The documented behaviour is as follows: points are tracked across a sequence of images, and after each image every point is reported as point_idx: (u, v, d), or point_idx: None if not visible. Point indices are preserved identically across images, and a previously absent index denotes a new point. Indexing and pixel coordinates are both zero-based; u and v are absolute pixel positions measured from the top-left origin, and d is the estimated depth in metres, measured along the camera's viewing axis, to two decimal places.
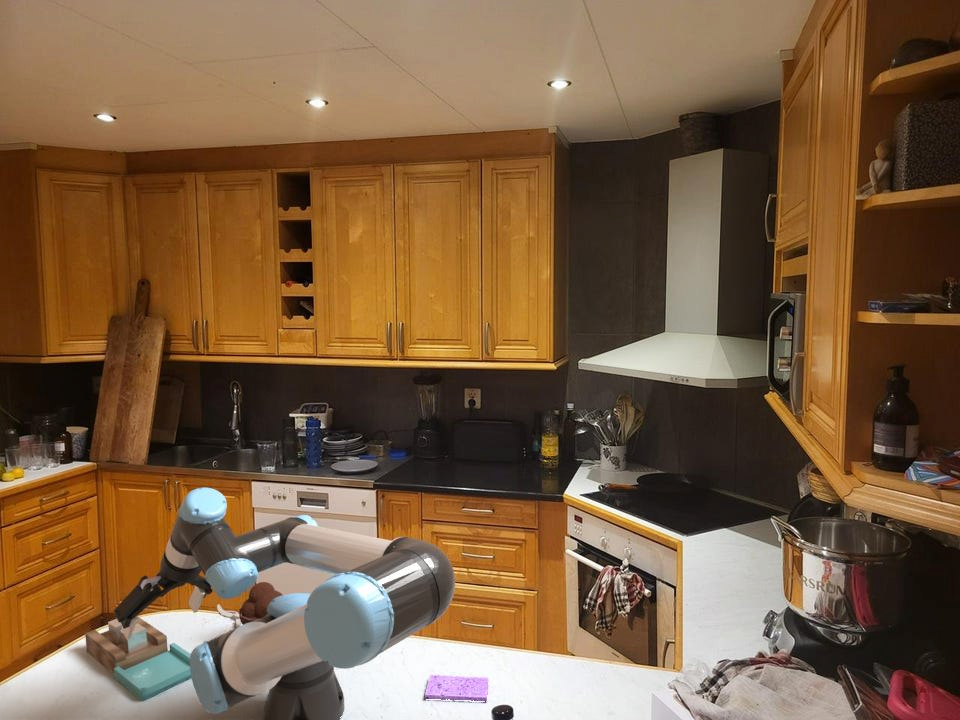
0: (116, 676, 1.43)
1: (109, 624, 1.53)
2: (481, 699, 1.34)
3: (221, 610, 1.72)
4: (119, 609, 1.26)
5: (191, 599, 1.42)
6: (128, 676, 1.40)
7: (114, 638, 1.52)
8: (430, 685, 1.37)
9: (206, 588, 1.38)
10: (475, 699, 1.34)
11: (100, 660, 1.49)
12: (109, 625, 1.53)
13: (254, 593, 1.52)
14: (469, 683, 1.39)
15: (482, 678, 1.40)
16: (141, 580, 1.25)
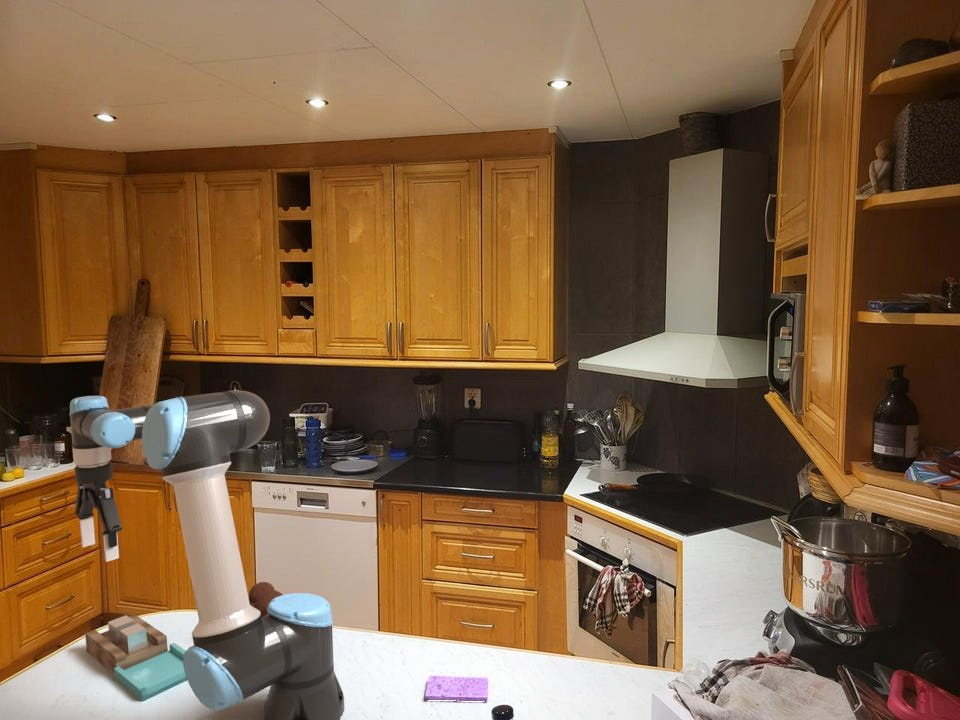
0: (116, 676, 1.43)
1: (109, 624, 1.53)
2: (481, 699, 1.34)
3: None
4: None
5: None
6: (128, 676, 1.40)
7: (114, 638, 1.52)
8: (430, 686, 1.37)
9: (104, 527, 1.51)
10: (475, 699, 1.34)
11: (100, 660, 1.49)
12: (109, 625, 1.53)
13: (254, 593, 1.52)
14: (468, 683, 1.38)
15: (482, 678, 1.40)
16: None
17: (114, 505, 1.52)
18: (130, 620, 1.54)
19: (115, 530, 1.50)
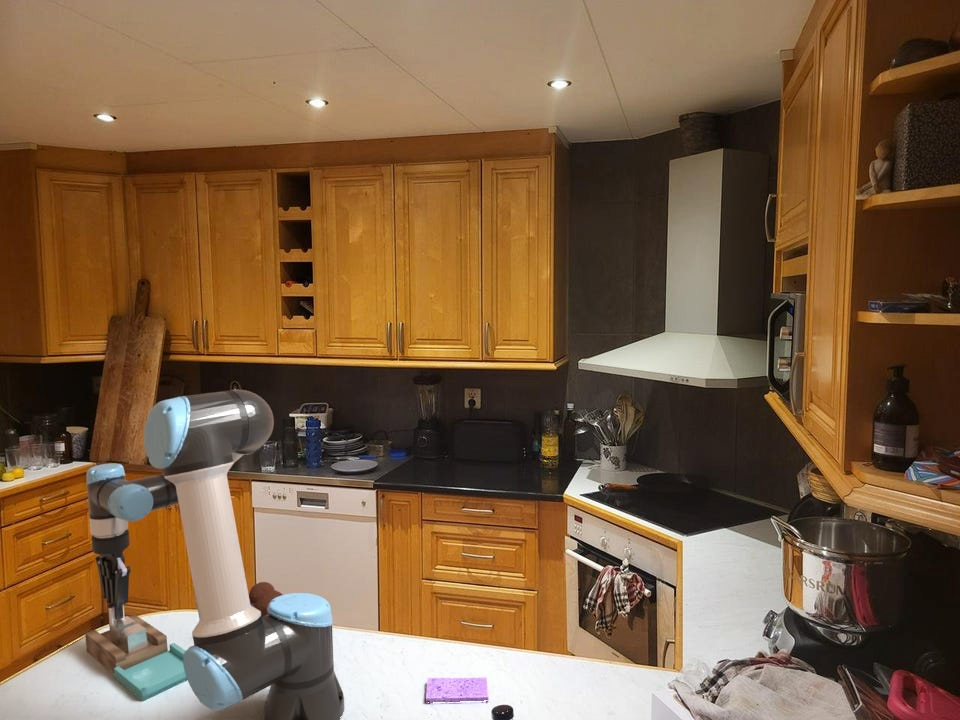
0: (116, 676, 1.43)
1: (110, 625, 1.53)
2: (483, 699, 1.34)
3: None
4: None
5: None
6: (128, 676, 1.40)
7: (115, 639, 1.52)
8: (429, 689, 1.36)
9: (112, 600, 1.53)
10: (477, 699, 1.34)
11: (100, 660, 1.49)
12: (110, 626, 1.53)
13: (254, 593, 1.52)
14: (468, 684, 1.38)
15: (480, 678, 1.40)
16: None
17: (127, 582, 1.51)
18: (131, 621, 1.54)
19: (121, 604, 1.52)
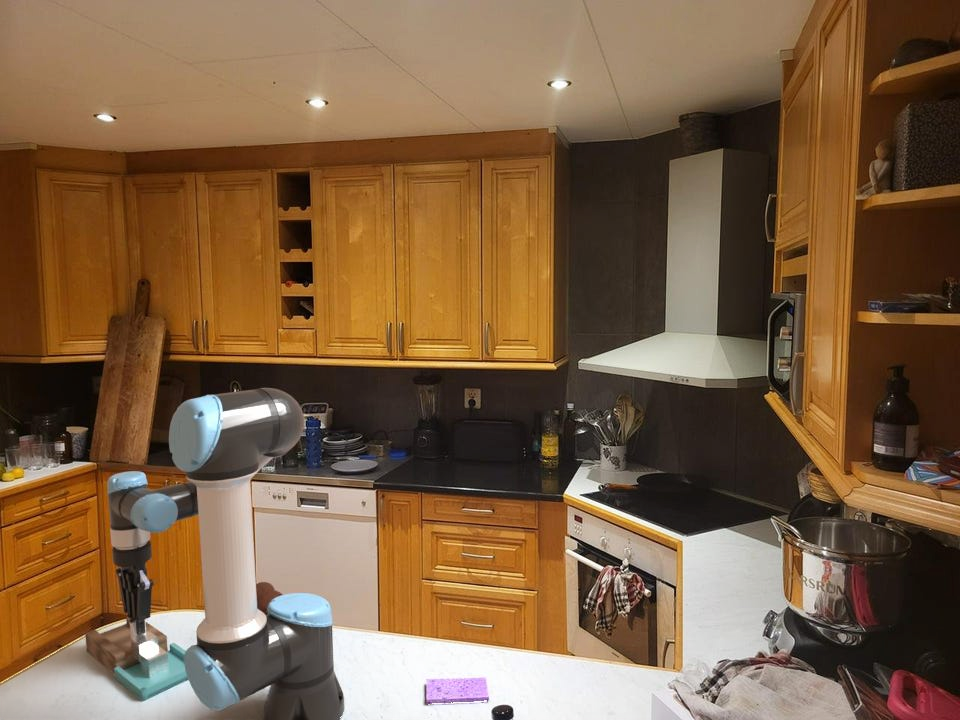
0: (116, 676, 1.43)
1: (132, 641, 1.46)
2: (483, 699, 1.34)
3: None
4: None
5: None
6: (128, 676, 1.40)
7: (137, 656, 1.45)
8: (429, 690, 1.36)
9: (134, 615, 1.46)
10: (477, 699, 1.34)
11: (100, 660, 1.49)
12: (132, 642, 1.46)
13: None
14: (467, 684, 1.38)
15: (480, 678, 1.40)
16: None
17: (149, 595, 1.45)
18: (154, 637, 1.47)
19: (143, 619, 1.45)
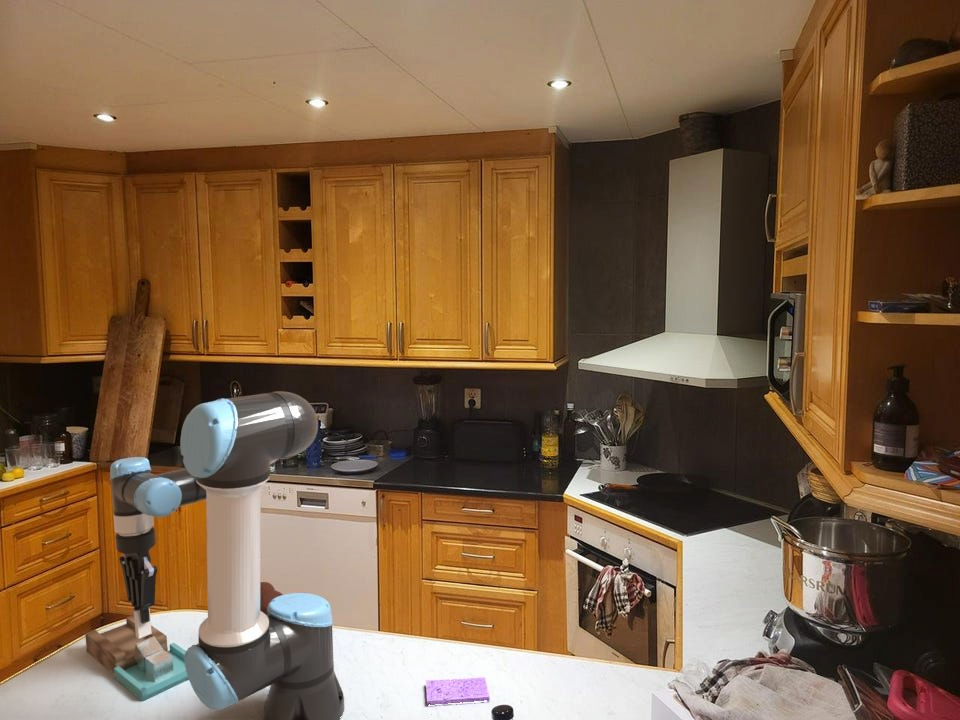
0: (116, 676, 1.43)
1: (136, 647, 1.44)
2: (484, 699, 1.34)
3: None
4: None
5: None
6: (128, 676, 1.40)
7: (140, 663, 1.44)
8: (429, 691, 1.36)
9: (138, 603, 1.44)
10: (478, 700, 1.34)
11: (100, 660, 1.49)
12: (136, 648, 1.44)
13: None
14: (467, 684, 1.38)
15: (479, 678, 1.40)
16: None
17: (153, 583, 1.43)
18: (159, 647, 1.45)
19: (147, 607, 1.43)
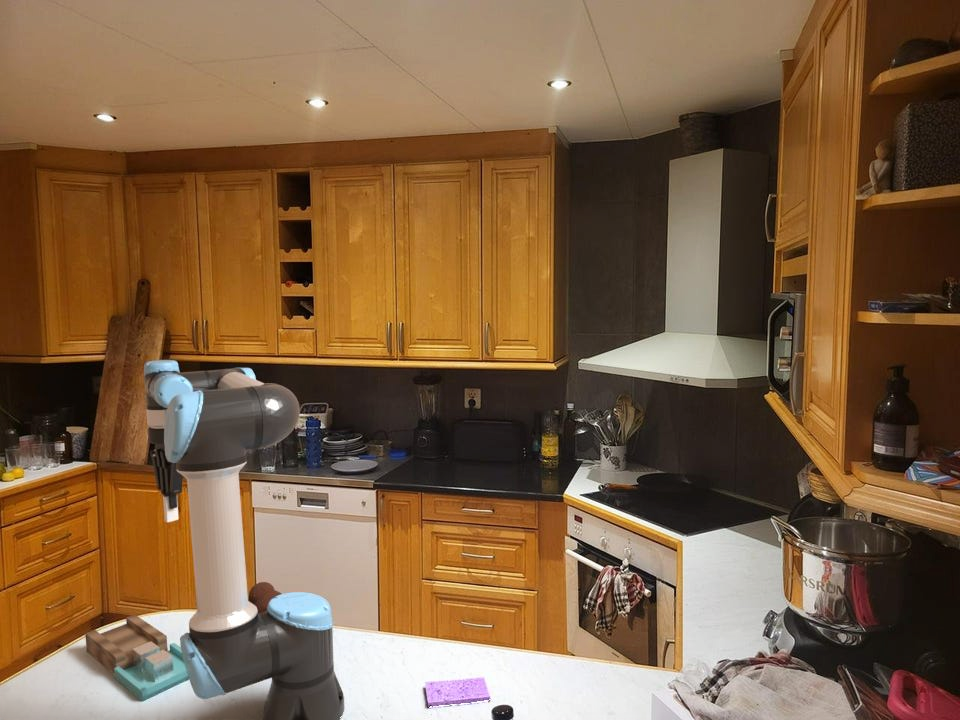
0: (116, 676, 1.43)
1: (133, 651, 1.46)
2: (485, 699, 1.34)
3: None
4: None
5: None
6: (128, 676, 1.40)
7: (139, 666, 1.44)
8: (430, 693, 1.35)
9: (167, 490, 1.61)
10: (479, 700, 1.33)
11: (100, 660, 1.49)
12: (133, 652, 1.46)
13: (254, 593, 1.52)
14: (467, 685, 1.38)
15: (478, 678, 1.40)
16: None
17: None
18: (155, 647, 1.47)
19: (176, 493, 1.60)
